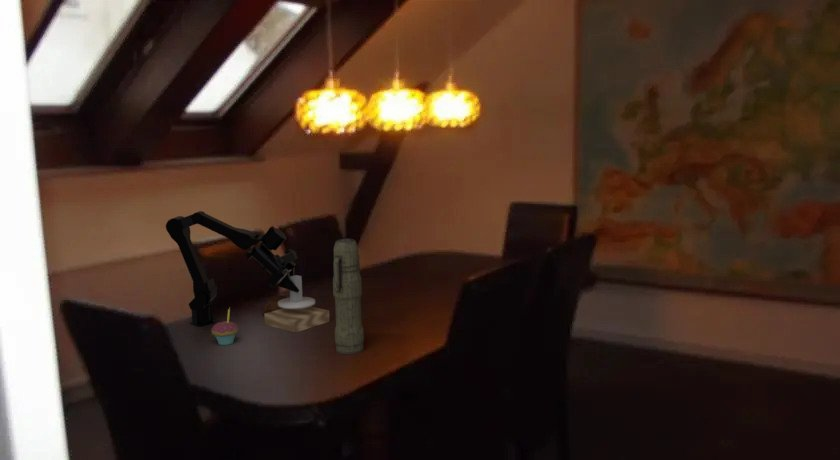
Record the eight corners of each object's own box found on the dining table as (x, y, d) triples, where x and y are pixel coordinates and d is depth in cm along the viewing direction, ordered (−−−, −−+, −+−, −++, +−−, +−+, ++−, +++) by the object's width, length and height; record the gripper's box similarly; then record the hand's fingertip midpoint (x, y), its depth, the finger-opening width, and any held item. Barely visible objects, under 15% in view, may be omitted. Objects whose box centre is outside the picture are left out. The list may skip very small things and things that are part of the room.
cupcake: (241, 338, 246) (239, 303, 244) (236, 346, 238) (233, 310, 236) (215, 339, 246) (213, 304, 244) (209, 347, 238) (206, 311, 236)
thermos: (370, 345, 236) (367, 237, 231) (353, 357, 226) (349, 243, 220) (346, 342, 240) (342, 235, 234) (328, 354, 229) (323, 242, 223)
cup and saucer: (286, 319, 268) (285, 303, 267) (256, 317, 271) (255, 301, 270) (300, 310, 280) (299, 294, 279) (271, 309, 283) (270, 293, 282)
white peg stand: (294, 311, 253) (293, 282, 251) (270, 305, 261) (268, 277, 259) (322, 302, 263) (321, 275, 261) (298, 297, 271) (296, 270, 269)
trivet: (295, 332, 252) (294, 321, 251) (264, 324, 262) (264, 313, 261) (329, 321, 264) (329, 310, 263) (299, 314, 274) (298, 303, 273)
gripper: (275, 248, 249) (309, 280, 250) (288, 238, 268) (320, 268, 269) (254, 271, 251) (287, 302, 252) (268, 260, 269) (299, 289, 270)
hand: (299, 290), depth 261 cm, fingers closed on white peg stand, 4 cm apart
